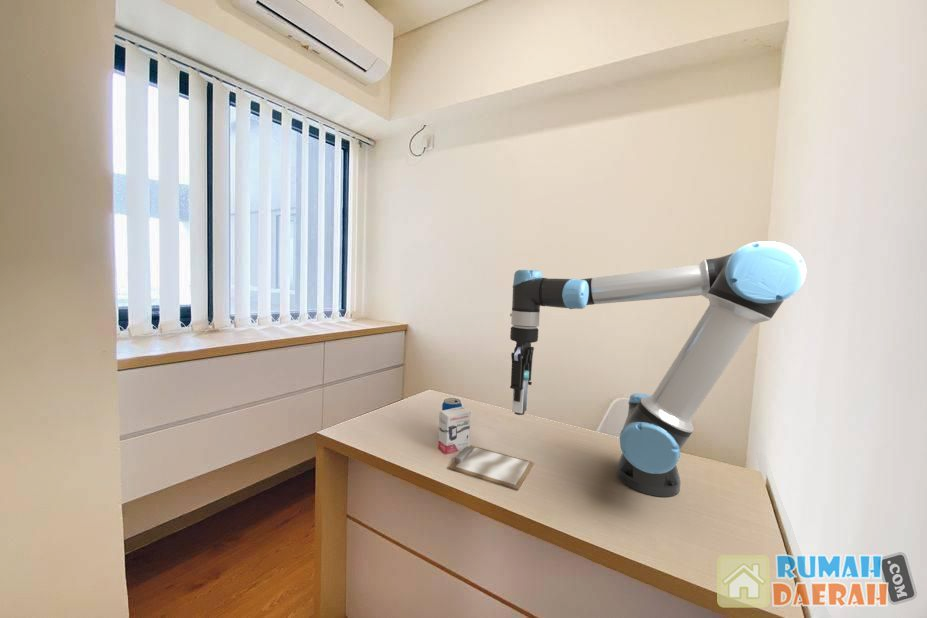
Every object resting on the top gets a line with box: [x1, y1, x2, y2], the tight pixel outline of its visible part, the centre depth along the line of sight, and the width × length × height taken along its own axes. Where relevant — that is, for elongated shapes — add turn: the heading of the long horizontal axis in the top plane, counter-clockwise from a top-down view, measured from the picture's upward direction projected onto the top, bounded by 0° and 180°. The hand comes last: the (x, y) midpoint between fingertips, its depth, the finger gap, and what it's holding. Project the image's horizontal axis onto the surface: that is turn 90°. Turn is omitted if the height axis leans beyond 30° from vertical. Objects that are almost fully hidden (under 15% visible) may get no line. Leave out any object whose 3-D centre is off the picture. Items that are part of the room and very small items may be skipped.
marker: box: [513, 370, 529, 416], centre depth 98 cm, size 4×4×12 cm
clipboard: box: [447, 444, 535, 492], centre depth 98 cm, size 20×15×2 cm
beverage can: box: [441, 397, 463, 411], centre depth 116 cm, size 6×6×12 cm
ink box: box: [438, 406, 471, 455], centre depth 108 cm, size 8×5×12 cm, turn 124°
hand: (519, 409), depth 98 cm, fingers closed on marker, 4 cm apart
